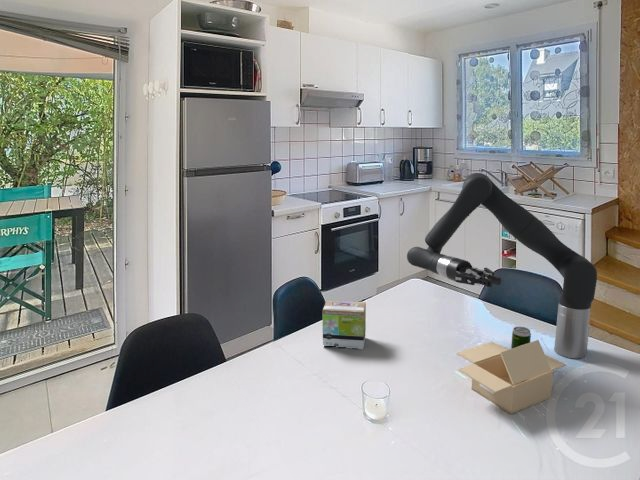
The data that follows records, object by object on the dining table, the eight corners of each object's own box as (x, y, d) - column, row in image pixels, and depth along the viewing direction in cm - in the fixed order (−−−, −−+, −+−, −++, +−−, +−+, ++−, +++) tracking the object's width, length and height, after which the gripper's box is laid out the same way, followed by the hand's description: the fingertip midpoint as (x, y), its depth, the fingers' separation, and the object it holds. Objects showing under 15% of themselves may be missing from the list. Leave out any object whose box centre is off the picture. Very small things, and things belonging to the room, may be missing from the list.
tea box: (322, 348, 156) (321, 309, 153) (326, 336, 166) (325, 299, 162) (364, 350, 153) (364, 311, 150) (366, 337, 163) (365, 300, 160)
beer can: (522, 370, 137) (524, 335, 134) (506, 363, 141) (509, 329, 139) (531, 365, 140) (534, 330, 137) (516, 358, 144) (518, 325, 142)
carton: (504, 360, 143) (506, 336, 141) (564, 391, 125) (567, 364, 123) (439, 383, 131) (440, 357, 129) (495, 421, 113) (497, 392, 111)
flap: (550, 370, 121) (537, 340, 123) (551, 369, 120) (538, 339, 123) (512, 384, 114) (499, 352, 117) (513, 384, 114) (500, 352, 116)
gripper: (437, 261, 140) (479, 274, 124) (470, 254, 146) (513, 267, 131) (437, 283, 141) (477, 299, 126) (469, 276, 147) (511, 290, 132)
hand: (495, 282), depth 128 cm, fingers open, 3 cm apart
